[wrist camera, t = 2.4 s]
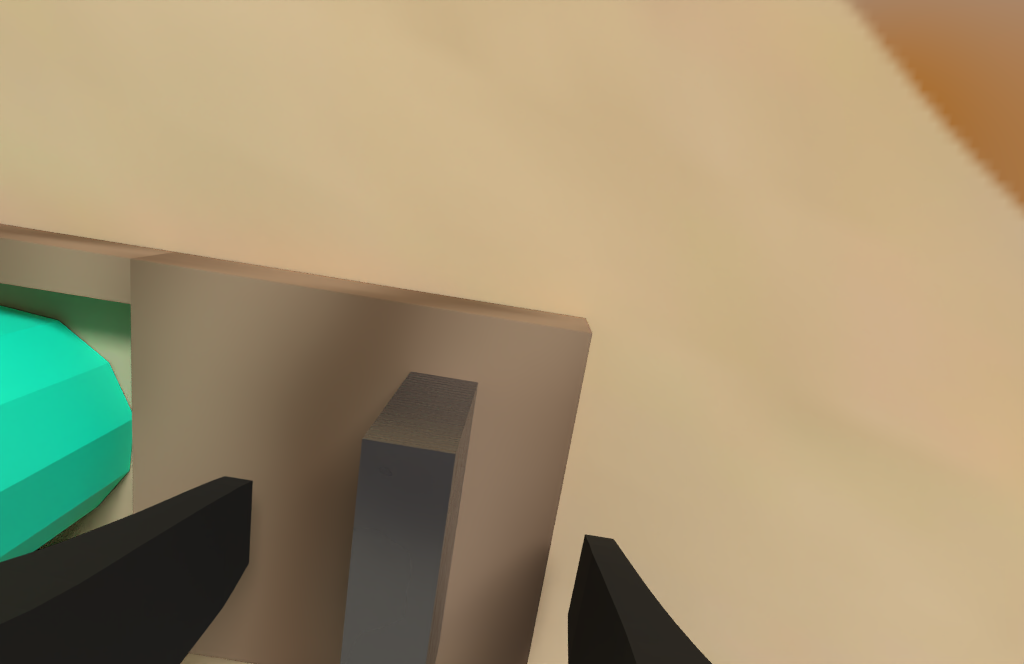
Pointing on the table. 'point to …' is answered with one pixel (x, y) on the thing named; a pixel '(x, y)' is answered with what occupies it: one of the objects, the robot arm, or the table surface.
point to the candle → (55, 430)
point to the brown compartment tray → (343, 445)
